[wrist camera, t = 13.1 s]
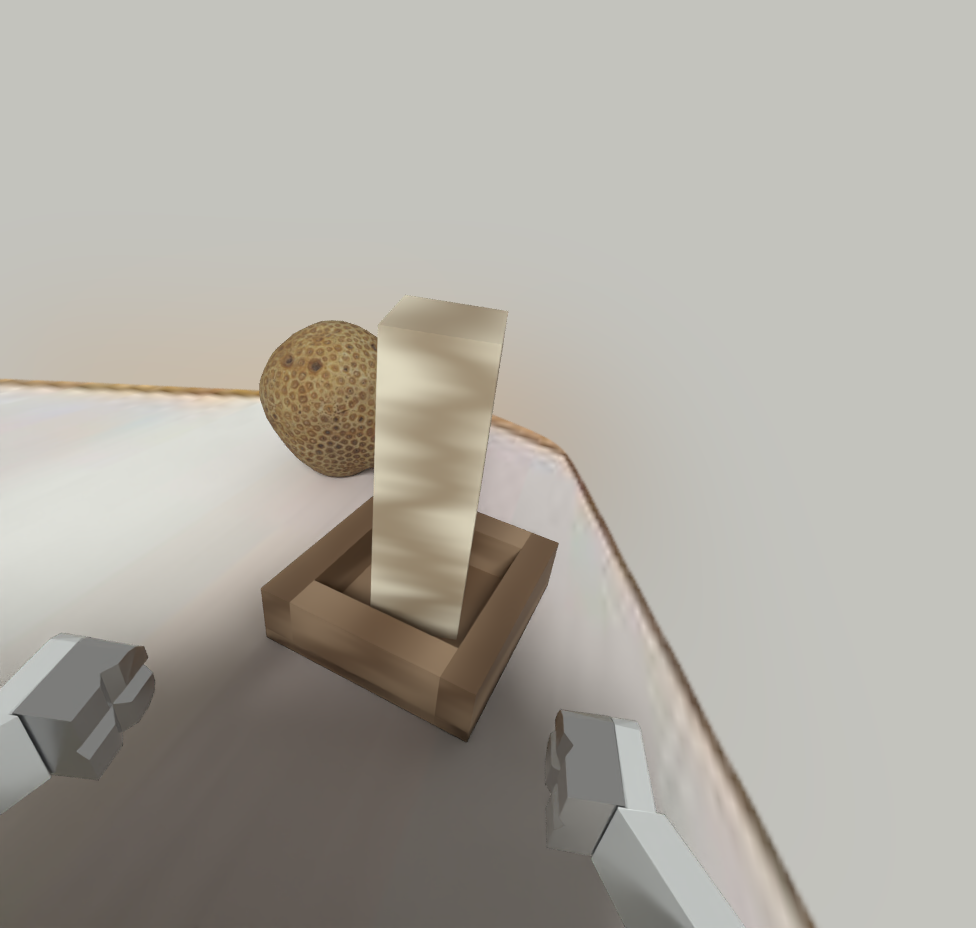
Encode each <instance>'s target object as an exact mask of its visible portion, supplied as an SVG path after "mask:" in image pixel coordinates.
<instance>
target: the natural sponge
mask: <svg viewBox="0 0 976 928" xmlns="http://www.w3.org/2000/svg"><path fill="white" fill-rule="evenodd" d="M377 344H378V338H377V337H376V336H374V335H373V334H371V333H370V332H368V331H367V330H365V329H363V328H361V327H359V326H357V325H354V324H351V323H348V322H344V321H321V322H318V323H315V324H312V325H310V326H308V327H306V328H304V329H302V330H300V331H298V332H296V333H294V334H293V335H292V336H291V337H290V338H288V339H287V340H286V341H285V342H284V343H282V344H281V345H280V346H279V347H278V348H277V349H276V350H275V351H274V352H273V354H272V355H271V357H270V359H269V360H268V363H267V365H266V367H265V369H264V371H263V374H262V376H261V380H260V389H259V393H260V400H261V403H262V406H263V409H264V412H265V415H266V417H267V419H268V421H269V422H270V424H271V425H272V427H273V429H274V430H275V431H276V433H277V434H278V436H279V437H280V438H281V440H282V441H283V442H284V443H285V445H286V446H287V447H288V448H289V450H290V451H291V452H292V453H293V454H294V455H295V456H296V457H297V458H298V459H299V460H300V461H302V462H303V463H305V464H306V465H308V466H309V467H310V468H312V469H313V470H315V471H317V472H319V473H321V474H324V475H327V476H335V477H344V476H351V475H354V474H357V473H359V472H361V471H363V470H365V469H367V468H374V455H375V418H376V381H377Z"/></svg>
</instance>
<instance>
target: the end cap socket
mask: <svg viewBox="0 0 976 928" xmlns="http://www.w3.org/2000/svg"><path fill="white" fill-rule="evenodd" d="M372 529H373V497H371V498H370V499H369V500H368V501H366V502H365V503H364V504H363V505H362V506H360V507H359V508H358V509H357V510H355V511H354V512H353V513H352V514H351V515H349V516H348V517H347V518H346V519H345V520H343V521H342V522H341V523H340V524H338V525H337V526H336V527H335V528H334V529H332V530H331V531H330V532H329V533H327V534H326V535H325V536H324V537H323V538H321V539H320V540H319V541H318V542H317V543H315V544H314V545H313V546H312V547H310V548H309V549H308V550H307V551H306V552H304V553H303V554H302V555H301V556H299V557H298V558H297V559H296V560H295V561H293V562H292V563H291V564H290V565H289V566H287V567H286V568H285V569H284V570H282V571H281V572H280V573H279V574H278V575H276V576H275V577H274V578H273V579H271V580H270V581H269V582H268V583H267V584H265V585H264V586H263V587H262V588H261V594H262V602H263V610H264V618H265V627H266V635H267V637H268V638H270V639H272V640H274V641H276V642H277V643H279V644H281V645H283V646H285V647H287V648H289V649H291V650H293V651H294V652H296V653H298V654H300V655H302V656H304V657H306V658H308V659H310V660H312V661H313V662H315V663H317V664H319V665H321V666H323V667H325V668H327V669H329V670H331V671H332V672H334V673H336V674H338V675H340V676H342V677H344V678H346V679H348V680H349V681H351V682H353V683H355V684H357V685H359V686H361V687H363V688H365V689H367V690H368V691H370V692H372V693H374V694H376V695H378V696H380V697H382V698H384V699H385V700H387V701H389V702H391V703H393V704H395V705H397V706H399V707H401V708H403V709H404V710H406V711H408V712H410V713H412V714H414V715H416V716H418V717H420V718H421V719H423V720H425V721H427V722H429V723H431V724H433V725H435V726H437V727H439V728H440V729H442V730H444V731H446V732H448V733H450V734H452V735H454V736H456V737H458V738H459V739H461V740H463V741H465V742H467V741H468V739H469V737H470V735H471V733H472V731H473V729H474V727H475V725H476V723H477V721H478V720H479V718H480V716H481V714H482V712H483V710H484V708H485V706H486V704H487V702H488V700H489V698H490V696H491V694H492V692H493V690H494V688H495V686H496V685H497V683H498V681H499V679H500V677H501V675H502V673H503V671H504V669H505V667H506V665H507V663H508V661H509V659H510V657H511V655H512V653H513V651H514V649H515V648H516V646H517V644H518V642H519V640H520V638H521V636H522V634H523V632H524V630H525V628H526V626H527V624H528V622H529V620H530V618H531V616H532V614H533V613H534V611H535V609H536V607H537V605H538V603H539V601H540V599H541V597H542V595H543V593H544V591H545V589H546V587H547V585H548V581H549V578H550V574H551V570H552V566H553V563H554V559H555V555H556V551H557V548H558V544H559V543H557V542H555V541H552V540H549V539H547V538H544V537H542V536H539V535H536V534H534V533H531V532H529V531H526V530H523V529H521V528H518V527H516V526H513V525H510V524H508V523H505V522H503V521H500V520H497V519H495V518H492V517H490V516H487V515H484V514H482V513H479V512H477V515H476V522H475V528H474V535H473V541H472V548H471V554H470V560H469V567H468V573H467V580H466V586H465V592H464V598H463V604H462V610H461V616H460V622H459V628H458V634H457V640H455V639H448V638H442V637H436V636H431V635H429V634H427V633H425V632H423V631H421V630H418V629H416V628H414V627H412V626H410V625H408V624H406V623H404V622H402V621H399V620H397V619H395V618H393V617H391V616H389V615H387V614H385V613H383V612H380V611H378V610H376V609H374V608H372V607H370V603H371V566H372Z"/></svg>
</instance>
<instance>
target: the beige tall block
mask: <svg viewBox="0 0 976 928" xmlns="http://www.w3.org/2000/svg"><path fill="white" fill-rule="evenodd" d="M507 316H508V311H503V310H497V309H490V308H484V307H478V306H472V305H465V304H459V303H453V302H447V301H441V300H434V299H428V298H422V297H416V296H408V295H405V296H404V297H403V298H402V299H401V300H400V301H399V302H398V303H397V304H396V306H395V307H394V308H393V309H392V310H391V311H390V312H389V313H388V314H387V315H386V316H385V318H384V319H383V320H382V321H381V322H380V323H379V324H378V344H377V381H376V418H375V455H374V492H373V529H372V566H371V603H370V607H372V608H374V609H376V610H378V611H380V612H383V613H385V614H387V615H389V616H391V617H393V618H395V619H397V620H399V621H402V622H404V623H406V624H408V625H410V626H412V627H414V628H416V629H418V630H421V631H423V632H425V633H427V634H429V635H431V636H436V637H442V638H448V639H455V640H457V634H458V628H459V622H460V616H461V610H462V604H463V598H464V592H465V586H466V580H467V573H468V567H469V560H470V554H471V548H472V541H473V535H474V528H475V522H476V515H477V509H478V503H479V496H480V490H481V483H482V477H483V470H484V464H485V458H486V451H487V445H488V438H489V432H490V425H491V419H492V412H493V406H494V399H495V393H496V387H497V380H498V373H499V367H500V361H501V355H502V348H503V341H504V335H505V328H506V322H507Z"/></svg>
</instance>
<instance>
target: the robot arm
mask: <svg viewBox="0 0 976 928" xmlns="http://www.w3.org/2000/svg"><path fill="white" fill-rule="evenodd" d="M147 659H148V655H147V653H146V650H145V647H144V646H139V645H133V644H127V643H120V642H114V641H108V640H102V639H96V638H91V637H86V636H79V635H72V634H66V633H60V634H58V635H56V636H55V637H53V638H51V639H49V640H48V641H47V642H46V643H45V644H44V645H43V646H42V647H41V648H40V649H39V650H38V651H37V652H36V653H35V654H34V655H33V656H32V657H31V658H30V659H29V660H28V661H27V662H26V663H25V664H24V665H23V666H22V668H21V669H20V670H19V671H18V672H17V673H16V674H15V675H14V676H13V677H12V678H11V679H10V680H9V681H8V682H7V683H6V684H5V685H4V686H3V687H2V688H1V689H0V815H1V814H2V813H4V812H5V811H7V810H8V809H9V808H11V807H12V806H13V805H15V804H16V803H17V802H19V801H20V800H22V799H23V798H24V797H26V796H27V795H28V794H30V793H31V792H32V791H34V790H35V789H37V788H38V787H39V786H41V785H42V784H43V783H45V782H46V781H47V780H49V779H50V778H51V775H58V776H67V777H75V778H83V779H91V780H99V779H100V778H101V776H102V775H103V773H104V772H105V770H106V769H107V767H108V766H109V765H110V763H111V762H112V760H113V759H114V757H115V756H116V754H117V753H118V752H119V750H120V749H121V747H122V746H123V732H124V731H126V730H127V729H129V728H130V727H132V726H133V725H135V724H137V723H138V722H139V721H140V720H141V718H142V716H143V715H144V713H145V712H146V710H147V709H148V707H149V705H150V702H151V699H152V697H153V694H154V690H155V678H154V675H153V672H152V671H151V670H149V669H148V668H147V667H146V666H145V665H144V663H145V661H146V660H147ZM555 727H556V731H554V732H552V733H551V734H550V737H549V741H548V744H547V751H546V758H545V785H546V786H547V788H548V790H549V791H550V793H551V795H550V798H549V801H548V804H547V806H546V848H548V849H554V850H559V851H565V852H570V853H576V854H581V855H587V856H592V858H591V860H592V862H593V864H594V866H595V868H596V870H597V872H598V874H599V876H600V878H601V880H602V882H603V884H604V886H605V888H606V890H607V892H608V894H609V896H610V898H611V900H612V902H613V904H614V906H615V908H616V910H617V912H618V914H619V916H620V918H621V920H622V922H623V924H624V926H625V928H746V927H745V926H744V924H743V923H742V922H741V920H740V919H739V917H738V916H737V915H736V913H735V912H734V910H733V909H732V908H731V906H730V905H729V903H728V902H727V901H726V899H725V898H724V897H723V895H722V894H721V892H720V891H719V890H718V888H717V887H716V885H715V884H714V883H713V881H712V880H711V878H710V877H709V876H708V874H707V873H706V871H705V870H704V869H703V867H702V866H701V864H700V863H699V862H698V860H697V859H696V857H695V856H694V855H693V853H692V852H691V850H690V849H689V848H688V846H687V845H686V843H685V842H684V841H683V839H682V838H681V836H680V835H679V834H678V832H677V831H676V829H675V828H674V827H673V825H672V824H671V823H670V821H669V820H668V818H667V817H666V816H665V814H662V813H657V812H656V807H655V802H654V797H653V791H652V786H651V781H650V776H649V770H648V765H647V760H646V755H645V749H644V744H643V739H642V734H641V728H640V726H639V724H638V723H637V722H636V721H635V720H628V719H621V718H613V717H609V716H605V715H597V714H590V713H582V712H575V711H568V710H560V711H559V712H558V714H557V716H556V719H555Z"/></svg>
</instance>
